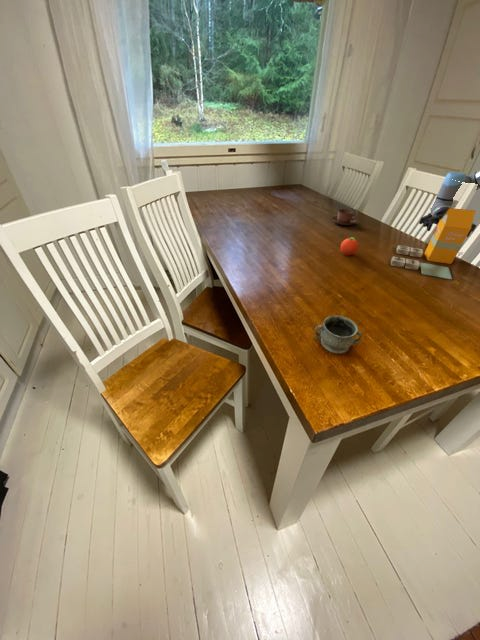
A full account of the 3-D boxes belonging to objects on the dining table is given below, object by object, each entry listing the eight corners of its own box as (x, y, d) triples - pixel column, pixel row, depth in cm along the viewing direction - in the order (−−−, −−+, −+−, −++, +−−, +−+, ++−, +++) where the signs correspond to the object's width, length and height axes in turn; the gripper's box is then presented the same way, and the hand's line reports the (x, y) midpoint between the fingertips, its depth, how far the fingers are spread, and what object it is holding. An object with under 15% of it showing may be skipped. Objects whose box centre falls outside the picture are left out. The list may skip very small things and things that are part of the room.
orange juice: (451, 264, 110) (479, 213, 98) (427, 260, 112) (451, 211, 100) (446, 256, 116) (472, 207, 103) (423, 253, 118) (446, 205, 106)
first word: (420, 253, 118) (422, 248, 116) (421, 257, 115) (423, 253, 113) (396, 249, 121) (398, 244, 119) (396, 253, 118) (398, 248, 116)
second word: (448, 268, 108) (450, 263, 106) (451, 279, 100) (454, 274, 99) (391, 257, 114) (393, 253, 113) (390, 268, 107) (392, 263, 106)
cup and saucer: (352, 220, 150) (355, 208, 146) (356, 227, 141) (360, 215, 137) (330, 218, 151) (333, 207, 147) (332, 226, 142) (335, 214, 138)
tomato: (341, 248, 121) (345, 232, 116) (357, 252, 118) (362, 236, 114) (337, 255, 115) (341, 239, 111) (354, 259, 113) (359, 242, 108)
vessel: (356, 336, 76) (363, 318, 72) (359, 359, 69) (367, 341, 65) (312, 329, 78) (316, 311, 74) (311, 350, 71) (316, 332, 67)
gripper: (470, 227, 123) (480, 245, 108) (409, 219, 131) (410, 234, 116) (480, 210, 118) (491, 226, 103) (416, 202, 126) (418, 216, 111)
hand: (449, 230), depth 109 cm, fingers open, 13 cm apart
